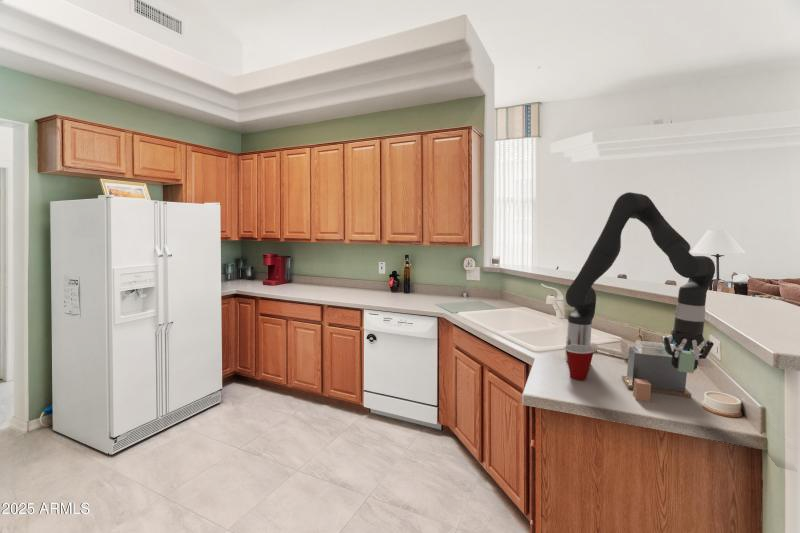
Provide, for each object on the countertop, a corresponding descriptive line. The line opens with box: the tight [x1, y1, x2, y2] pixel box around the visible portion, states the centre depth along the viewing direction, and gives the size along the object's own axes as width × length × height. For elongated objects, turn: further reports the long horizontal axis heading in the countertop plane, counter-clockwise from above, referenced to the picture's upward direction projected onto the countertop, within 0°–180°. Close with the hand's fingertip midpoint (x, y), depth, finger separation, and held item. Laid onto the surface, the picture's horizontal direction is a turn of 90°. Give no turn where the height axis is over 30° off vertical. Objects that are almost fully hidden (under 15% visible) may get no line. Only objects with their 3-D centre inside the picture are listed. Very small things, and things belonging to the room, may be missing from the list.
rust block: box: [632, 379, 652, 403], centre depth 126 cm, size 4×4×6 cm
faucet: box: [590, 336, 629, 360], centre depth 172 cm, size 4×18×10 cm, turn 42°
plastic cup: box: [563, 345, 595, 381], centre depth 143 cm, size 11×11×12 cm
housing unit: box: [621, 340, 692, 398], centre depth 135 cm, size 19×10×16 cm, turn 71°
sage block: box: [676, 349, 695, 374], centre depth 121 cm, size 4×4×6 cm
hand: (683, 368), depth 122 cm, fingers closed on sage block, 4 cm apart
